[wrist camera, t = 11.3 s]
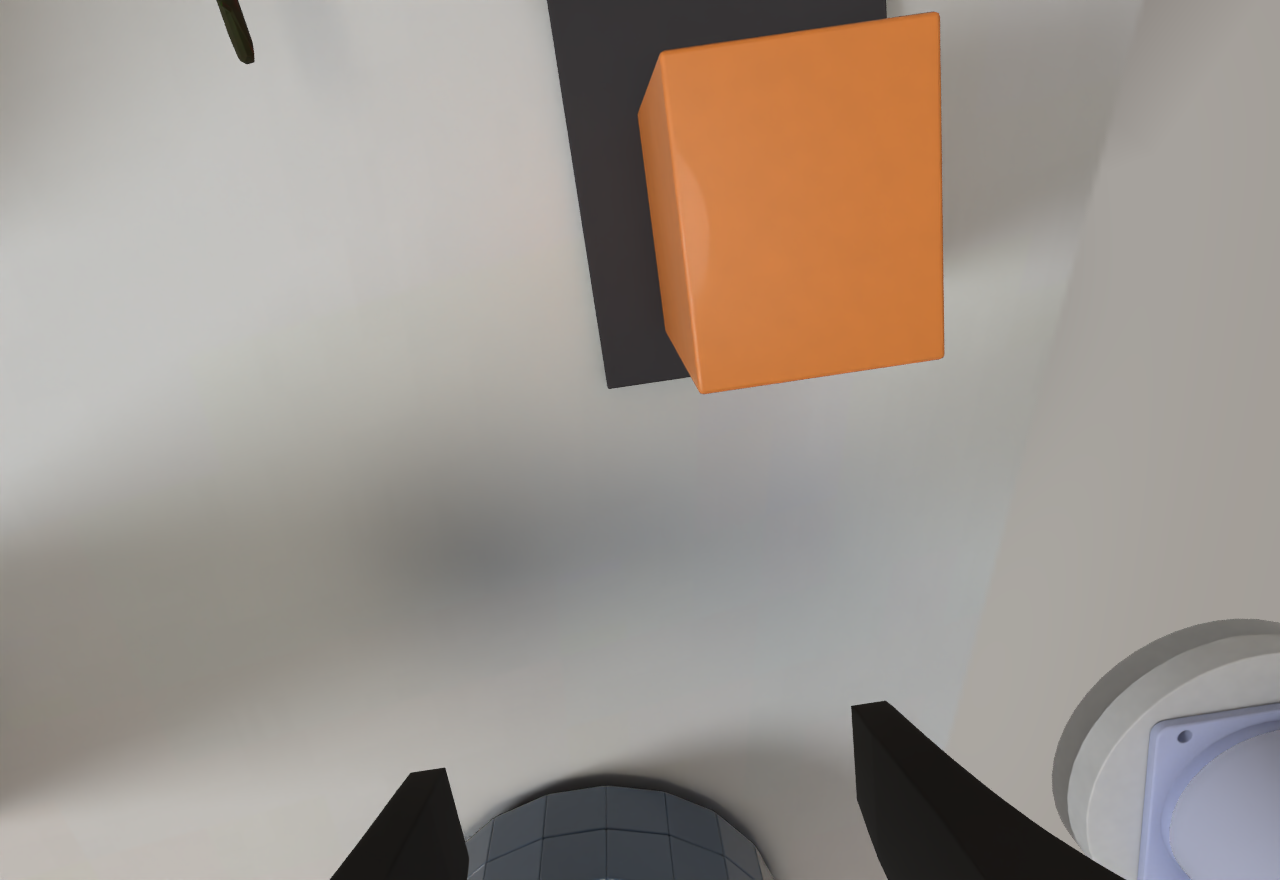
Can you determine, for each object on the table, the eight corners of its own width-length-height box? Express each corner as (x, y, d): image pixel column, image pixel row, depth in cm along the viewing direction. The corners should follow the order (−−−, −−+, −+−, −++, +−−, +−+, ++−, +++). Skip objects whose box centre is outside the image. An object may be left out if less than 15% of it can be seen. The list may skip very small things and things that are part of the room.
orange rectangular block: (814, 85, 18) (942, 8, 11) (828, 309, 20) (946, 359, 13) (636, 111, 18) (658, 49, 11) (665, 333, 19) (699, 396, 13)
